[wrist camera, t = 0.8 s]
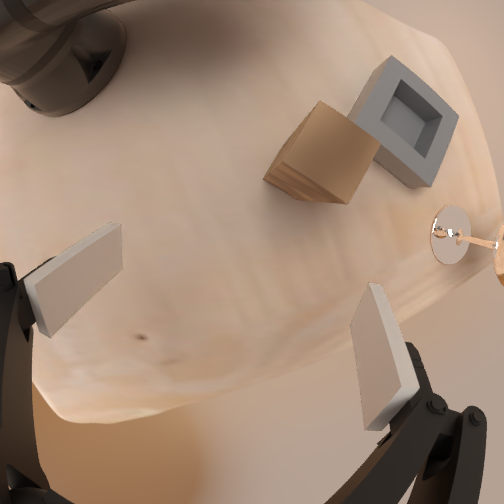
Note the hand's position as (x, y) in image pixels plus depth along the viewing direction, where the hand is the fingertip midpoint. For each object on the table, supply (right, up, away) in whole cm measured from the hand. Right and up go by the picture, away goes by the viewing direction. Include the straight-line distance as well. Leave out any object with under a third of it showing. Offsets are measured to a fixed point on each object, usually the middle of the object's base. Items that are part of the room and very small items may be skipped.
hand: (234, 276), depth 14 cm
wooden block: (+5, +9, +13) cm, 17 cm away
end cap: (+16, +15, +12) cm, 26 cm away
